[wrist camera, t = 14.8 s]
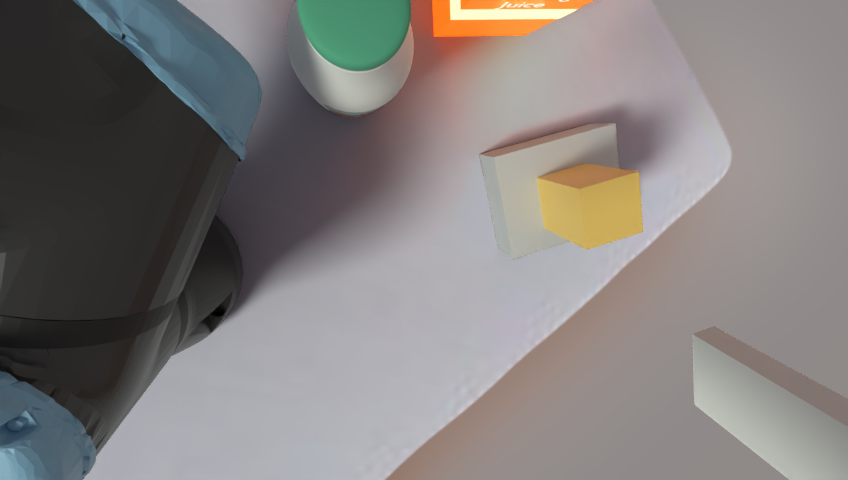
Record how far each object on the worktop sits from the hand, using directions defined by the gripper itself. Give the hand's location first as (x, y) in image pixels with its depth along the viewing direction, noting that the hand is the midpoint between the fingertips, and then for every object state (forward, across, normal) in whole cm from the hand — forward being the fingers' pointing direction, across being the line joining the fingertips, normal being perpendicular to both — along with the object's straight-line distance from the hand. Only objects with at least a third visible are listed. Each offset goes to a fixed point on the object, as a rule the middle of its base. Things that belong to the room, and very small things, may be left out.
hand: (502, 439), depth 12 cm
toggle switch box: (+29, +16, -1) cm, 33 cm away
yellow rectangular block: (+25, +16, -1) cm, 30 cm away
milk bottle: (+29, 0, +14) cm, 32 cm away
